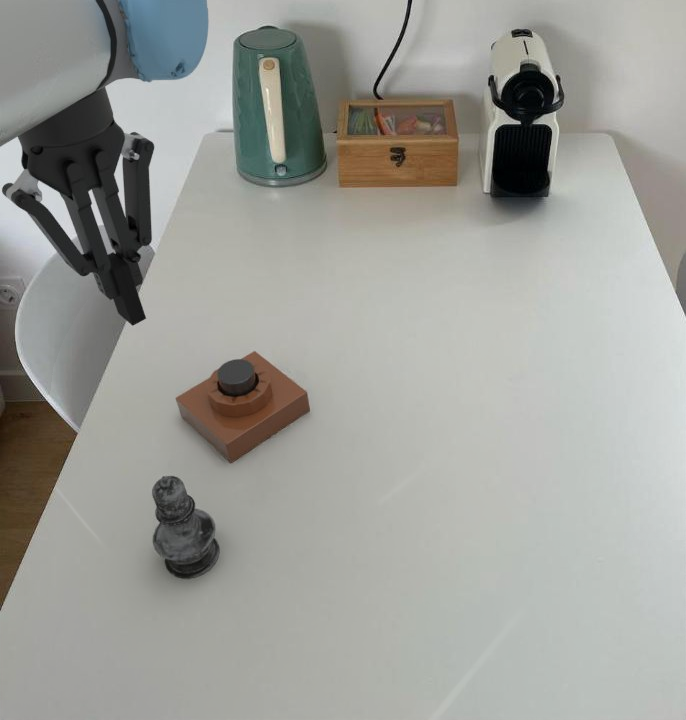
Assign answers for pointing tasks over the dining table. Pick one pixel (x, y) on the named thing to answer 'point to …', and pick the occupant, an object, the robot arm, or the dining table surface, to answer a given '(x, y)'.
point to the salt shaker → (183, 530)
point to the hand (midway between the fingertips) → (132, 315)
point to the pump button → (237, 378)
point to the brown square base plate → (243, 409)
